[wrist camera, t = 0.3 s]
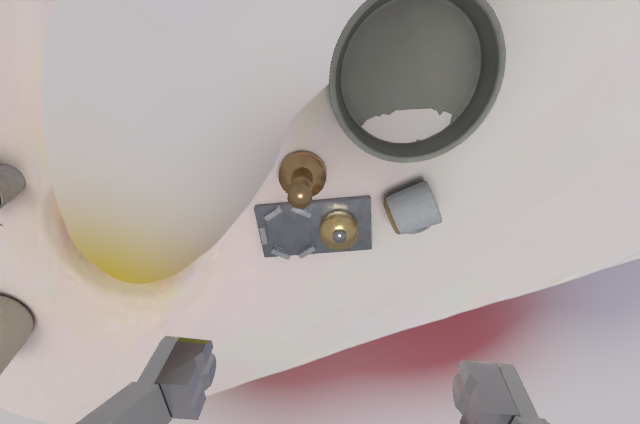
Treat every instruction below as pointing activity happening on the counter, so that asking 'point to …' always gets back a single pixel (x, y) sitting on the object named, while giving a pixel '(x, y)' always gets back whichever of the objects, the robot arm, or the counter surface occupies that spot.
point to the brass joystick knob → (302, 177)
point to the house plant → (10, 183)
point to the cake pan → (417, 70)
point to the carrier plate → (315, 227)
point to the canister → (12, 329)
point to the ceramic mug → (412, 209)
